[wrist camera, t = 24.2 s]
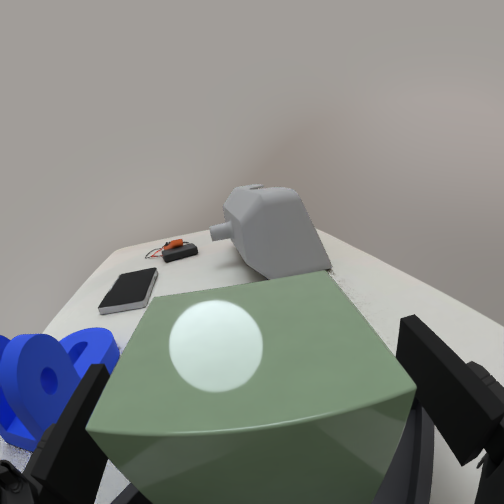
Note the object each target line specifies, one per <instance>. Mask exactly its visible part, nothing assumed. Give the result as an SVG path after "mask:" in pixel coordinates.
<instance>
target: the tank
mask: <svg viewBox="0 0 504 504" xmlns="http://www.w3.org/2000/svg"><path fill="white" fill-rule="evenodd" d="M261 187H264V185H260V184H254V185H248V186H242V187H236V188H234V190H233V191H232V193H231V194H230V196H229V197H228V199H227V200H226V202H225V203H224V205H223V211H224V217H225V223H222V224H218V225H213V226H210V233H211V238H212V241H217V240H223V239H229V238H230V239H231V241H232V242H233V244H234V245H235V247H236V248H237V250H238V252H239V253H240V255H241V256H242V258H243V259H244V261H245V262H246V264H247V265H249V266H250V267H252V268H253V269H254V270H256V271H257V272H259V273H260V274H262V275H263V276H265V277H266V278H268V279H269V280H271V279H277V278H283V277H289V276H295V275H300V274H306V273H312V272H317V271H322V270H326V269H330V268H332V265H331V262H330V260H329V258H328V255H327V253H326V251H325V249H324V247H323V244H322V242H321V240H320V238H319V236H318V234H317V231H316V229H315V227H314V225H313V223H312V221H311V219H310V217H309V215H308V213H307V211H306V208H305V206H304V204H303V202H302V200H301V198H300V197H299V195H298V194H297V193H296V191H295V190H293V189H289V188H282V187H273V188H265V189H258V188H261Z"/></svg>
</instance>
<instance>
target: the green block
mask: <svg viewBox="0 0 504 504" xmlns="http://www.w3.org/2000/svg"><path fill="white" fill-rule="evenodd" d="M416 390H417V387H416V384H415V383H414V381H413V380H412V379H411V377H410V376H409V375H408V373H407V372H406V371H405V369H404V368H403V367H402V365H401V364H400V363H399V361H398V360H397V359H396V357H395V356H394V355H393V354H392V352H391V351H390V350H389V348H388V347H387V346H386V344H385V343H384V342H383V341H382V339H381V338H380V337H379V335H378V334H377V333H376V332H375V330H374V329H373V328H372V327H371V325H370V324H369V323H368V322H367V320H366V319H365V318H364V317H363V315H362V314H361V313H360V312H359V310H358V309H357V308H356V307H355V305H354V304H353V303H352V302H351V300H350V299H349V298H348V297H347V296H346V294H345V293H344V292H343V291H342V290H341V288H340V287H339V286H338V285H337V283H336V282H335V281H334V280H333V279H332V277H331V276H330V275H329V274H328V273H327V272H326V271H325V270H323V271H317V272H312V273H306V274H300V275H295V276H289V277H283V278H277V279H271V280H265V281H259V282H253V283H247V284H241V285H235V286H228V287H222V288H215V289H209V290H202V291H195V292H188V293H181V294H174V295H167V296H160V297H154V298H153V299H152V301H151V303H150V304H149V306H148V308H147V310H146V311H145V313H144V315H143V317H142V318H141V320H140V322H139V324H138V325H137V327H136V329H135V331H134V333H133V334H132V336H131V338H130V340H129V342H128V344H127V345H126V347H125V349H124V351H123V353H122V355H121V357H120V358H119V360H118V362H117V364H116V366H115V368H114V370H113V372H112V374H111V376H110V378H109V380H108V382H107V384H106V386H105V388H104V390H103V392H102V394H101V396H100V398H99V400H98V402H97V404H96V406H95V408H94V410H93V412H92V414H91V416H90V418H89V421H88V423H87V425H86V428H85V429H86V431H87V433H88V434H89V435H90V436H91V438H92V439H93V440H94V442H95V443H96V444H97V445H98V447H99V448H100V449H101V450H102V451H103V453H104V454H105V455H106V456H107V457H108V459H109V460H110V461H111V462H112V463H113V464H114V465H115V466H116V468H117V469H118V470H119V471H120V472H121V473H122V474H123V475H124V476H125V477H126V478H127V479H128V480H129V481H130V482H131V483H132V484H133V485H134V486H135V487H136V488H137V489H138V490H139V491H140V492H141V493H142V494H143V495H144V496H145V497H146V498H147V499H148V500H149V501H150V502H151V503H152V504H371V503H372V502H373V500H374V498H375V496H376V494H377V492H378V490H379V488H380V486H381V484H382V482H383V480H384V477H385V475H386V473H387V471H388V469H389V466H390V464H391V462H392V459H393V457H394V454H395V452H396V449H397V447H398V444H399V442H400V439H401V436H402V434H403V431H404V428H405V425H406V422H407V419H408V416H409V413H410V410H411V407H412V404H413V400H414V397H415V393H416Z"/></svg>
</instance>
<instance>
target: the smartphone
mask: <svg viewBox="0 0 504 504" xmlns="http://www.w3.org/2000/svg"><path fill="white" fill-rule="evenodd" d="M157 274H158V271H157V268H150V269H145V270H140V271H135V272H130V273H125V274H121V275H119V277H118V278H117V280H116V281H115V283H114V284H113V285H112V287H111V288H110V290H109V291H108V293H107V294H106V296H105V298H104V299H103V301H102V302H101V304H100V305H99V307H98V309H99V312H100V315H102V314H108V313H114V312H120V311H126V310H131V309H137V308H143V307H145V306H146V305H147V302H148V299H149V296H150V293H151V290H152V288H153V285H154V282H155V279H156V277H157Z"/></svg>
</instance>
